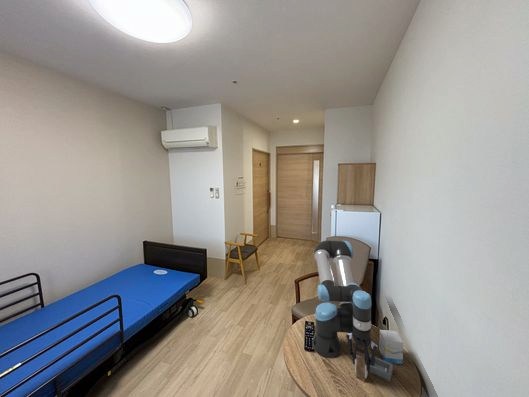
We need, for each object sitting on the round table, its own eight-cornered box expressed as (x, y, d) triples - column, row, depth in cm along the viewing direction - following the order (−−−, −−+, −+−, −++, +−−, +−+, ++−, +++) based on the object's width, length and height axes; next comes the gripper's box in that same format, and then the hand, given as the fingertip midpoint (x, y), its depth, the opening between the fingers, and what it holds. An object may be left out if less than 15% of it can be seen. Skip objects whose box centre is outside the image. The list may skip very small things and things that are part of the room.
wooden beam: (356, 378, 98) (356, 352, 97) (358, 372, 101) (358, 347, 100) (364, 382, 96) (364, 355, 95) (366, 376, 99) (366, 350, 98)
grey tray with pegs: (365, 370, 102) (365, 363, 102) (368, 360, 108) (368, 353, 108) (390, 382, 96) (390, 375, 95) (392, 371, 101) (392, 364, 101)
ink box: (403, 364, 105) (403, 342, 104) (384, 362, 106) (384, 340, 105) (396, 351, 113) (396, 330, 112) (378, 349, 115) (379, 328, 114)
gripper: (340, 323, 99) (340, 369, 101) (380, 338, 89) (379, 389, 91) (345, 315, 105) (345, 358, 107) (383, 328, 95) (382, 376, 96)
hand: (361, 373), depth 99 cm, fingers closed on wooden beam, 3 cm apart
